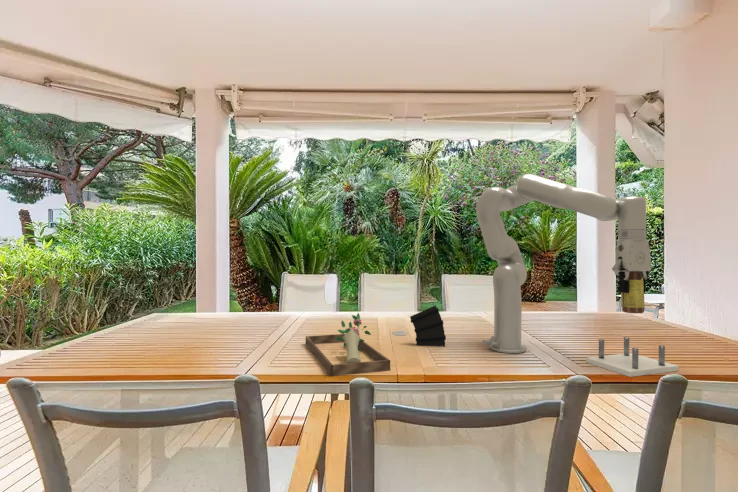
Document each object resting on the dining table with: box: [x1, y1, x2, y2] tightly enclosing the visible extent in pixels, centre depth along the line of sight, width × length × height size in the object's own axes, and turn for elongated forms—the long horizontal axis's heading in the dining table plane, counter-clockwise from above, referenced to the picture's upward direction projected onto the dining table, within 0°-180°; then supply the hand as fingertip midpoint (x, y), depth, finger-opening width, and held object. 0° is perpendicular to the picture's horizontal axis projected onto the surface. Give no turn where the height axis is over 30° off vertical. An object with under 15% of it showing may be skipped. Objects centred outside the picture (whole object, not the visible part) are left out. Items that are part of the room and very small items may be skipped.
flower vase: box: [336, 312, 372, 364], centre depth 142 cm, size 12×12×35 cm
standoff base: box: [585, 336, 679, 378], centre depth 134 cm, size 20×16×8 cm
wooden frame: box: [305, 333, 391, 377], centre depth 144 cm, size 19×41×3 cm, turn 19°
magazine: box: [409, 304, 447, 347], centre depth 160 cm, size 4×13×15 cm, turn 83°
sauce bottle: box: [620, 269, 646, 314], centre depth 133 cm, size 7×6×20 cm
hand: (632, 291), depth 133 cm, fingers closed on sauce bottle, 6 cm apart
